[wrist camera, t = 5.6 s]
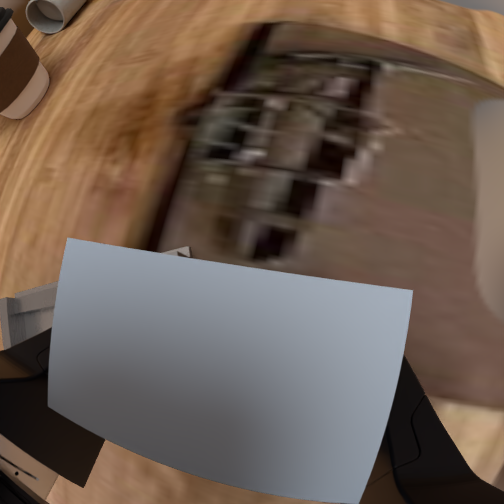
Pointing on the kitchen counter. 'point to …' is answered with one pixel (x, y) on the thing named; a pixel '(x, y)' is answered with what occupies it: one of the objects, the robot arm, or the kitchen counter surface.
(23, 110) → the coffee cup
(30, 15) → the ceramic mug
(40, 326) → the grey rectangular tray
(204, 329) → the gray rectangular block
